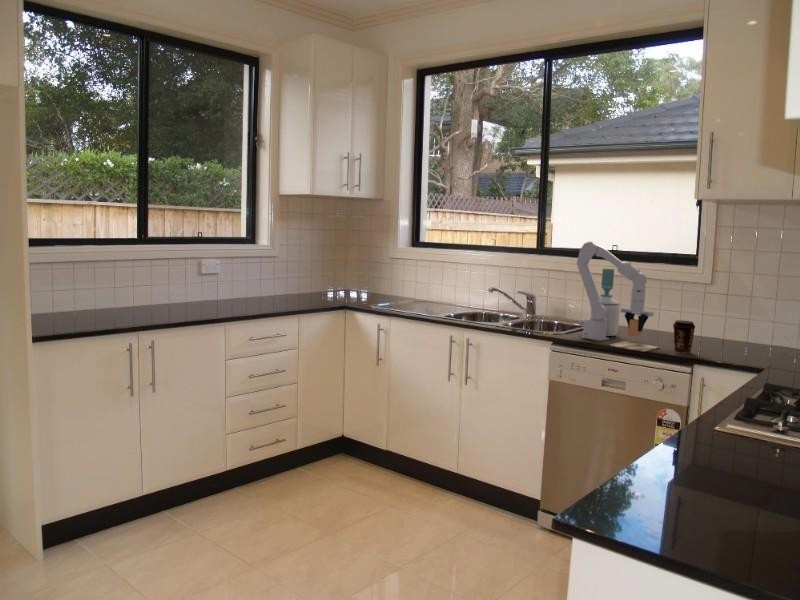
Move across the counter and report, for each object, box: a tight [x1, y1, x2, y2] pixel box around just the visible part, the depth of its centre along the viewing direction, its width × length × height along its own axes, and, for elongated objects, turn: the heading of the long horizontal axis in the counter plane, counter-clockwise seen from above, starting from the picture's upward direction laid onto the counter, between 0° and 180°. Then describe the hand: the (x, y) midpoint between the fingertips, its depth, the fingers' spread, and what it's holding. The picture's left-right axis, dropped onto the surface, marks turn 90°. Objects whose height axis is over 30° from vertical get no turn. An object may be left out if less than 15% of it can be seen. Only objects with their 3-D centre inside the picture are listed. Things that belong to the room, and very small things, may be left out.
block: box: [627, 318, 643, 338], centre depth 303 cm, size 4×4×8 cm
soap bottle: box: [590, 268, 621, 337], centre depth 320 cm, size 12×12×31 cm
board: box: [609, 341, 661, 353], centre depth 293 cm, size 16×14×1 cm
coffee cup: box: [672, 319, 696, 355], centre depth 283 cm, size 9×8×13 cm
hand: (635, 330), depth 304 cm, fingers closed on block, 4 cm apart
